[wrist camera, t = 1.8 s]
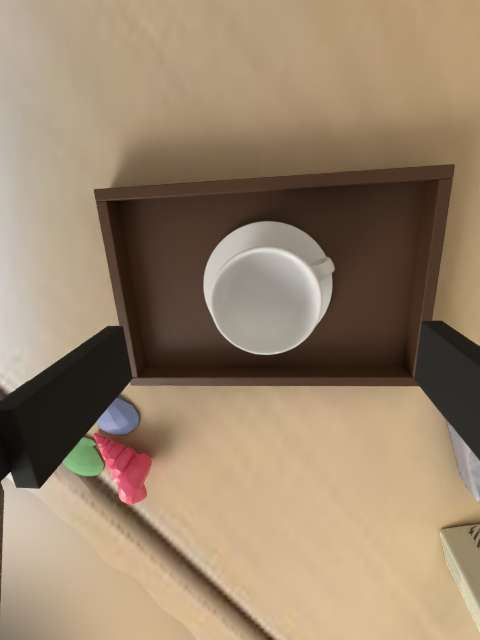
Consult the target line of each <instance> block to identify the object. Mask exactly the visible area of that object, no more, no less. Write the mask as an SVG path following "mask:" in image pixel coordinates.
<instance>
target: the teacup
mask: <svg viewBox="0 0 480 640" xmlns="http://www.w3.org/2000/svg"><path fill="white" fill-rule="evenodd" d="M334 270H335V268H334V265H333V262H332V260H331V259H330V258H329V257H326V256H325V254H324V252H323V250H322V249H321V248H320V246H319V245H318V244H317V243H316V242H315V241H314V240H313V239H312V238H311V237H310V236H309V235H308V234H306V233H305V232H303V231H302V230H300V229H298V228H296V227H294V226H291V225H288V224H285V223H281V222H271V221H264V222H256V223H252V224H248V225H245V226H243V227H240V228H238V229H237V230H235V231H233V232H232V233H230V234H229V235H228V236H226V237H225V238H224V239H223V240H222V241H221V242H220V243H219V244H218V245H217V247H216V248H215V249H214V251H213V252H212V254H211V256H210V258H209V260H208V263H207V266H206V269H205V274H204V295H205V300H206V303H207V306H208V309H209V311H210V313H211V315H212V317H213V320H214V322H215V324H216V326H217V328H218V329H219V331H220V332H221V334H222V335H223V336H224V337H225V338H226V339H227V340H228V341H229V342H231V343H232V344H233V345H235V346H236V347H238V348H240V349H242V350H245V351H247V352H250V353H255V354H262V355H271V354H278V353H282V352H285V351H288V350H290V349H292V348H294V347H296V346H298V345H299V344H300V343H302V342H303V341H304V340H305V339H306V338H307V337H308V336H309V335H310V334H311V333H312V331H313V330H314V328H315V327H316V325H317V324H318V323H319V322H320V320H321V319H322V317H323V316H324V314H325V312H326V310H327V308H328V305H329V303H330V299H331V294H332V272H333V271H334Z"/></svg>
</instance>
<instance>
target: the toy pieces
mask: <svg viewBox="0 0 480 640" xmlns="http://www.w3.org/2000/svg"><path fill="white" fill-rule="evenodd" d="M96 422H97V424H98V426H99V428H101V429H102V430H103V431H105V432H106V433H109V434H114V435H126V434H127V433H129V432H131V431H132V430H133V429H134V428H135V427H136V426H137V425H138V422H139V415H138V414H137V412H136V410H135V409H134V407H133V406H132V405H131V404H129V403H127V402H125V401H123V400H121V399H119V398H116V399H115V400H114V401H113V402H112V404H111V405H110V406H109V407H108V408H107V410H106V411H105V412H104V413H103V414H102V415H101V417H100V418H99V419H98V420H97V421H96ZM94 437H95V440H96V442H97V443H98V446H99V447H100V448H99V449H100V451H101V452H102V456H103V459H105V460H106V466H107V468H108V469H110V470H111V477H112V480H113V481H115V482H117V484H119V485H118V494H119V497H120V499H121V501H123V502H125V503H127V504H135V503H137V502H139V501H142V500H143V499H144V498H145V497H146V496H147V492H146V488H145V485H144V481H145V479H146V477H147V475H148V473H149V471H150V468H151V465H152V464H151V459H150V457H149V456H148V455H147V454H146V453H141V454H137V455H136V452H135V450H134V449H133V448H131V447H129V448H125V447H124V445H123V444H121V443H117V444H116V441H114V440H113V441H110V439H109V438H105V436H102V435H99V434H97V433H95V434H94ZM96 442H95V441H94V440H92V439H90V438H87V437H83V438H82V439H81V440H80V441H79V443H78V444H77V445H76V446H75V447H74V449H73V450H72V451H71V452H70V453H69V454H68V456H67V457H66V458H65V459H64V460H63V464H64V465H65V466H66V467H67V468H68V469H70V470H71V471H73V472H75V473H77V474H79V475H84V476H94V475H97V474H100V473H101V472H102V469H103V467H104V462H103V460H102V459H101V457H100V455H99V453H98V452H97V450H96V449H95V447H94V446H95V445H97V443H96Z"/></svg>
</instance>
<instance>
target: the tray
mask: <svg viewBox="0 0 480 640" xmlns="http://www.w3.org/2000/svg"><path fill="white" fill-rule="evenodd" d="M454 167H455V165H454V164H451V165H437V166H422V167H408V168H393V169H379V170H365V171H350V172H336V173H321V174H307V175H293V176H278V177H264V178H250V179H235V180H221V181H206V182H192V183H178V184H163V185H149V186H134V187H120V188H106V189H94V194H95V199H96V201H97V202H96V204H97V209H98V214H99V220H100V225H101V230H102V235H103V241H104V246H105V251H106V257H107V262H108V267H109V272H110V278H111V283H112V288H113V293H114V299H115V304H116V309H117V314H118V320H119V325H120V326H123V328H124V333H125V339H126V344H127V350H128V355H129V360H130V366H131V371H132V377H133V379H132V380H131V381H130V383H131V385H171V386H419V385H418V384H417V382H416V381H415V380H414V377H415V370H416V362H417V355H418V347H419V340H420V332H421V325H422V321H432V316H433V309H434V302H435V295H436V289H437V282H438V275H439V268H440V261H441V255H442V248H443V241H444V234H445V227H446V221H447V214H448V207H449V200H450V194H451V187H452V179H451V178H453V174H454ZM264 221H271V222H281V223H285V224H288V225H291V226H294V227H296V228H298V229H300V230H302V231H303V232H305V233H306V234H308V235H309V236H310V237H311V238H312V239H313V240H314V241H315V242H316V243H317V244H318V245H319V246H320V248H321V249H322V250H323V252H324V254H325V256H326V257H329V258H330V259H331V260H332V262H333V265H334V268H335V270H334V271H333V272H332V294H331V299H330V303H329V305H328V308H327V310H326V312H325V314H324V316H323V317H322V319H321V320H320V322H319V323H318V324H317V325H316V327H315V328H314V330H313V331H312V333H311V334H310V335H309V336H308V337H307V338H306V339H305V340H304V341H303V342H302V343H300V344H299V345H298V346H296V347H294V348H292V349H290V350H288V351H285V352H282V353H278V354H271V355H262V354H255V353H250V352H247V351H245V350H242V349H240V348H238V347H236V346H235V345H233V344H232V343H231V342H229V341H228V340H227V339H226V338H225V337H224V336H223V335H222V334H221V332H220V331H219V329H218V328H217V326H216V324H215V322H214V320H213V317H212V315H211V313H210V311H209V309H208V306H207V303H206V300H205V295H204V274H205V269H206V266H207V263H208V260H209V258H210V256H211V254H212V252H213V251H214V249H215V248H216V247H217V245H218V244H219V243H220V242H221V241H222V240H223V239H224V238H225V237H226V236H228V235H229V234H230V233H232V232H233V231H235V230H237V229H238V228H240V227H243V226H245V225H248V224H252V223H256V222H264Z"/></svg>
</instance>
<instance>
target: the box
mask: <svg viewBox="0 0 480 640" xmlns="http://www.w3.org/2000/svg"><path fill="white" fill-rule="evenodd" d="M440 536H441V542H442V547H443V552H444V556H445V560H446V564H447V566H448V568H449V570H450V572H451V574H452V576H453V578H454V580H455V582H456V584H457V586H458V588H459V590H460V592H461V594H462V596H463V599H464V601H465V603H466V605H467V607H468V609H469V611H470V613H471V615H472V617H473V619H474V622H475V624H476V626H477V628H478V630H479V632H480V524H476V525H467V526H460V527H453V528H446V529H441V530H440Z"/></svg>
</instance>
